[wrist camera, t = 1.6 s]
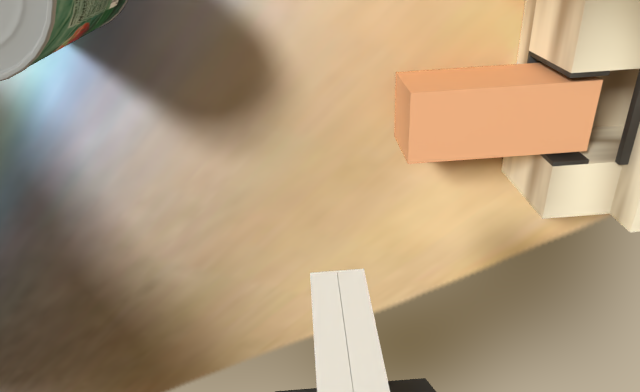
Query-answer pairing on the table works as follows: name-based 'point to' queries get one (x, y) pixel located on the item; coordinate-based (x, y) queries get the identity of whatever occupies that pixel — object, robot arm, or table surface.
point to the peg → (492, 112)
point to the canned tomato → (46, 28)
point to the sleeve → (610, 118)
